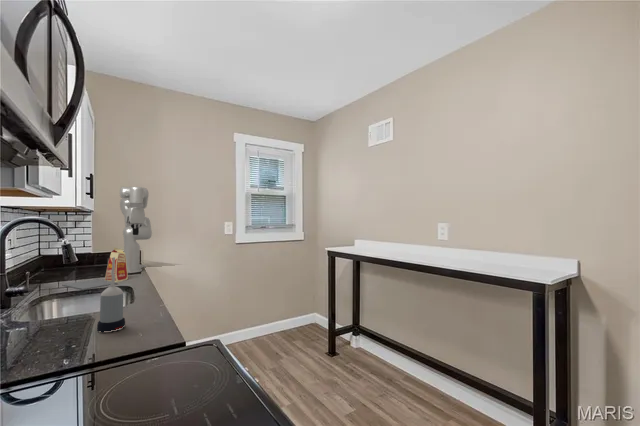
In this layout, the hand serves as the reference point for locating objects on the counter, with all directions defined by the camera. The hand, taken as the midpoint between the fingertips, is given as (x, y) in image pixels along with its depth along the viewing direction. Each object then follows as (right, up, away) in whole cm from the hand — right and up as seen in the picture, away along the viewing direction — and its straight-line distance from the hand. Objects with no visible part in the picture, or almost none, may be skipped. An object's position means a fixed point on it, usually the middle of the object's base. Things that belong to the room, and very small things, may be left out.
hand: (135, 234), depth 200 cm
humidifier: (+45, -27, -90) cm, 104 cm away
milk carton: (-5, -27, -10) cm, 29 cm away
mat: (-12, -27, -23) cm, 37 cm away
